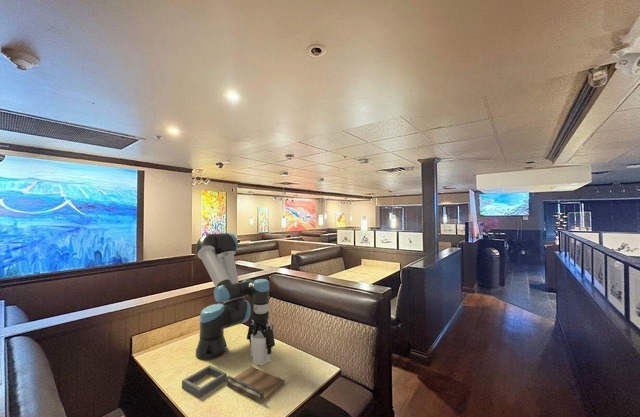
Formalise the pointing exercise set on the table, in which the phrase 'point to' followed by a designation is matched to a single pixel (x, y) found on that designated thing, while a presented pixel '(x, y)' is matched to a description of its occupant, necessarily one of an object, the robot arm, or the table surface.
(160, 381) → the table surface
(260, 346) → the foam cup
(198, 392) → the frame
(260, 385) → the shelf board
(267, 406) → the table surface
